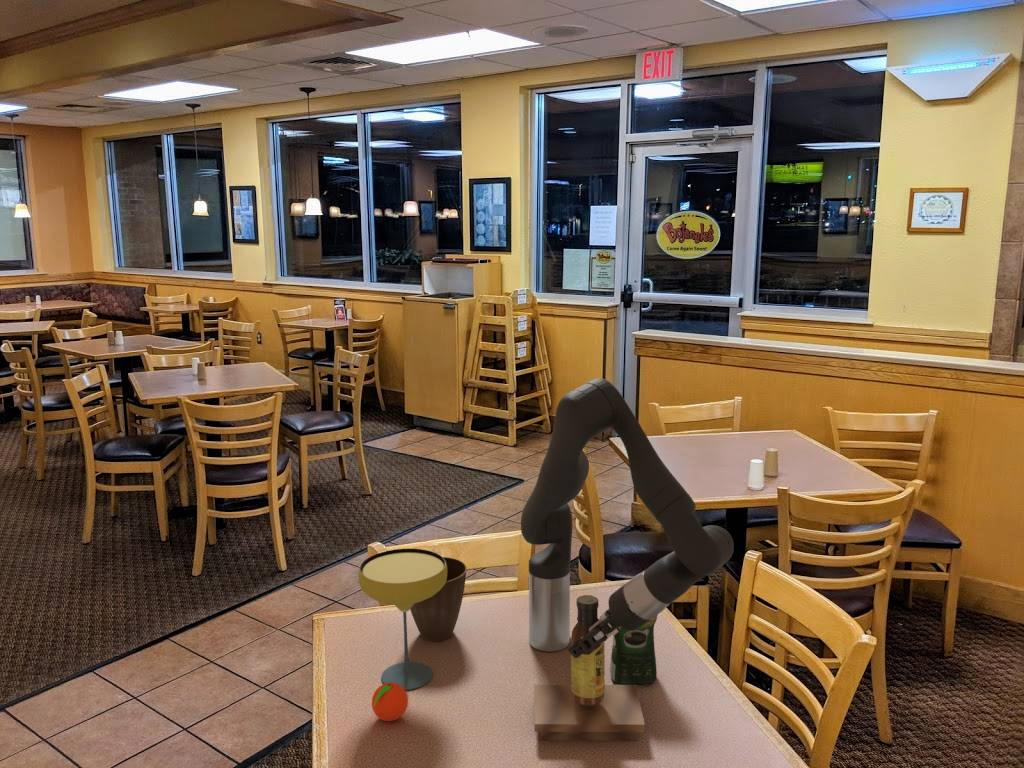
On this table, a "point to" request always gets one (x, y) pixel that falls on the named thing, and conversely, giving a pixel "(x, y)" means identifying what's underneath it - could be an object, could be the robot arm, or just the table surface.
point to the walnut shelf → (587, 715)
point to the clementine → (389, 701)
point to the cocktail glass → (404, 598)
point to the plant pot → (442, 605)
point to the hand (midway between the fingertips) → (579, 645)
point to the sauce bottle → (587, 657)
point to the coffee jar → (634, 656)
